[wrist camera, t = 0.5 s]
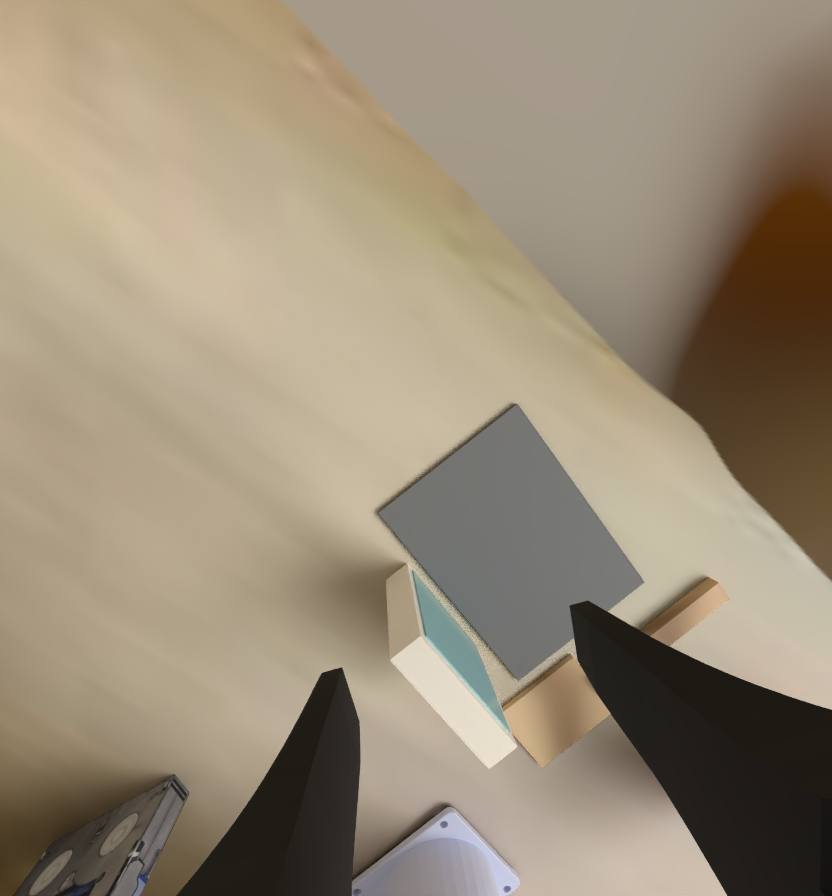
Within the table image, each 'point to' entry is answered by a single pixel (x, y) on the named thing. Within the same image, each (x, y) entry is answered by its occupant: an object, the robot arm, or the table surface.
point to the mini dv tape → (110, 848)
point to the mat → (511, 541)
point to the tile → (445, 666)
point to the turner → (571, 694)
